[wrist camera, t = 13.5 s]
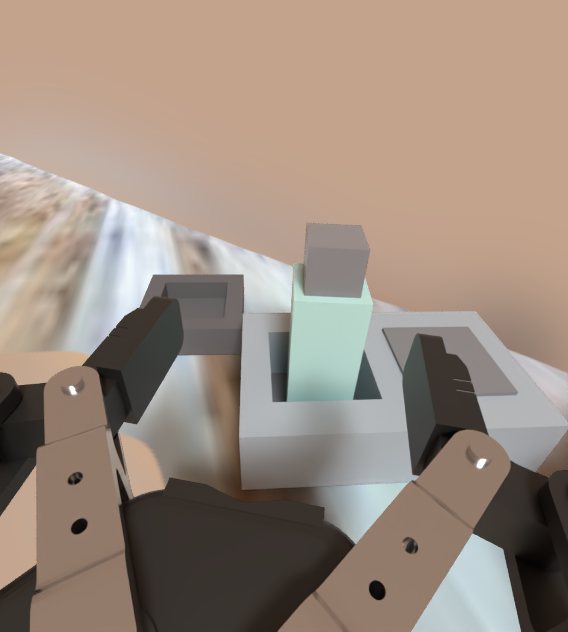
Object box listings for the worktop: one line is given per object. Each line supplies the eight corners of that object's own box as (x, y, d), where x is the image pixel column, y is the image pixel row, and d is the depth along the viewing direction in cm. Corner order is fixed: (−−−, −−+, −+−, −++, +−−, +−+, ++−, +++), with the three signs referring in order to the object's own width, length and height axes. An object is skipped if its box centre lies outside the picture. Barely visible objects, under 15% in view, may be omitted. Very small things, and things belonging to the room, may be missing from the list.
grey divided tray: (241, 490, 24) (238, 434, 21) (244, 362, 34) (242, 310, 31) (532, 476, 26) (573, 422, 23) (455, 358, 36) (476, 308, 32)
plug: (285, 427, 27) (296, 251, 19) (286, 383, 31) (296, 218, 22) (346, 430, 27) (383, 255, 19) (340, 385, 31) (369, 222, 22)
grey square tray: (136, 356, 34) (129, 329, 32) (157, 298, 42) (153, 274, 40) (242, 353, 35) (241, 328, 33) (243, 297, 43) (243, 274, 41)
